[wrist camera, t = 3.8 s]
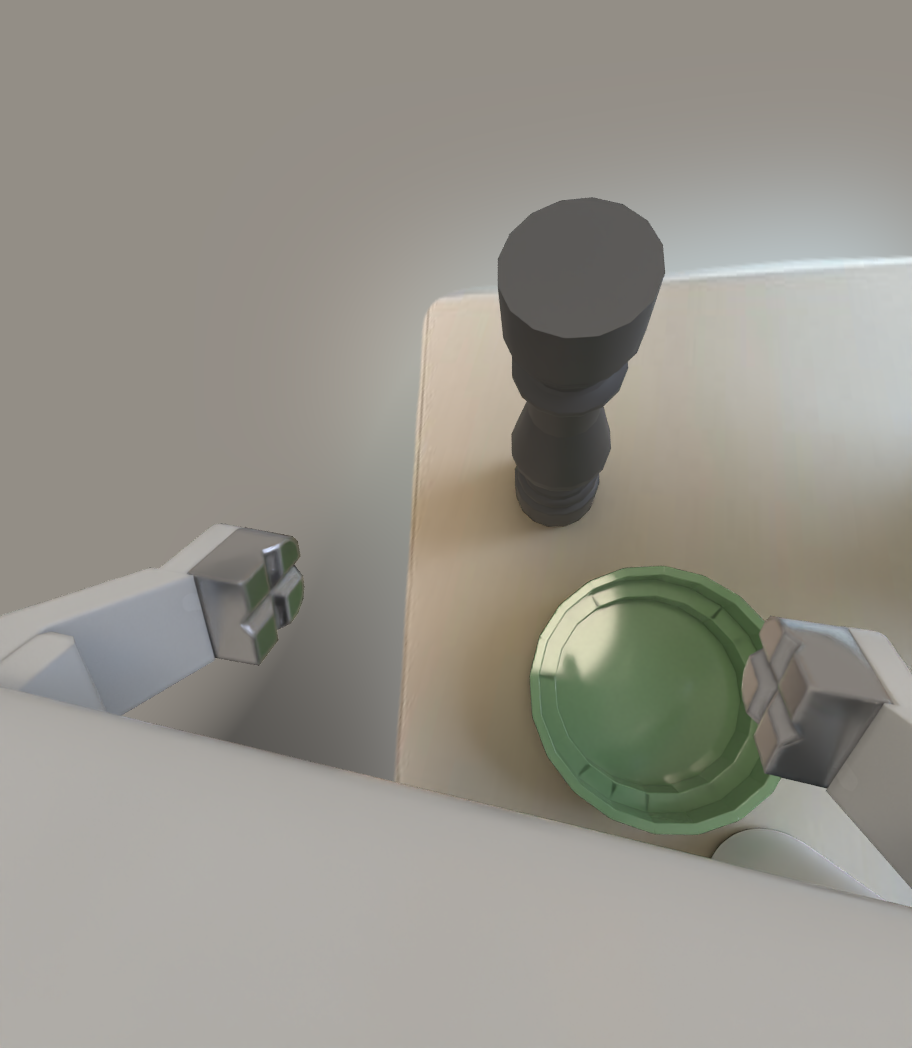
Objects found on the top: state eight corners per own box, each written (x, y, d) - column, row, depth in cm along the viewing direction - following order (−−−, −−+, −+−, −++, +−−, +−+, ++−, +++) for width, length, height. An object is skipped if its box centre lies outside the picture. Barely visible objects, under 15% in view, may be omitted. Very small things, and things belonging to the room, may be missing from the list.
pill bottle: (695, 820, 35) (804, 931, 21) (827, 830, 34) (1039, 954, 20) (705, 960, 33) (833, 1188, 19) (846, 975, 32) (1096, 1231, 18)
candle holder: (523, 447, 43) (507, 186, 20) (601, 459, 42) (684, 196, 18) (509, 519, 42) (472, 335, 18) (588, 533, 41) (660, 355, 17)
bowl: (696, 548, 40) (721, 531, 34) (804, 763, 35) (852, 781, 30) (500, 622, 40) (494, 616, 35) (582, 841, 36) (590, 872, 31)
